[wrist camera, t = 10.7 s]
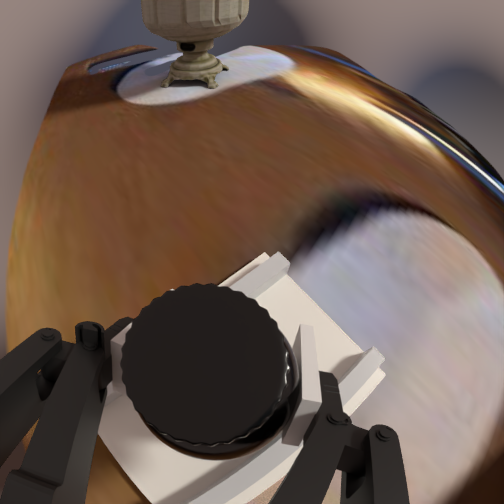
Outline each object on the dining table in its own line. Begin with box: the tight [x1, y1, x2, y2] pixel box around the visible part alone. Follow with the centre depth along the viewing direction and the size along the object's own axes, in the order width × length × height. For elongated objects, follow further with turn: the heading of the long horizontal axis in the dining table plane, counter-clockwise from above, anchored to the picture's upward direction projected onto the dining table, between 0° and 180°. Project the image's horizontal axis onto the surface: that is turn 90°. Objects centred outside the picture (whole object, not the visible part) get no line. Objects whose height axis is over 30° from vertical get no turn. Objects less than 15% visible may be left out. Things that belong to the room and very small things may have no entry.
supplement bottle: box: [120, 283, 299, 461], centre depth 12 cm, size 7×7×12 cm
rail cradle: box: [98, 252, 386, 504], centre depth 20 cm, size 22×16×3 cm
